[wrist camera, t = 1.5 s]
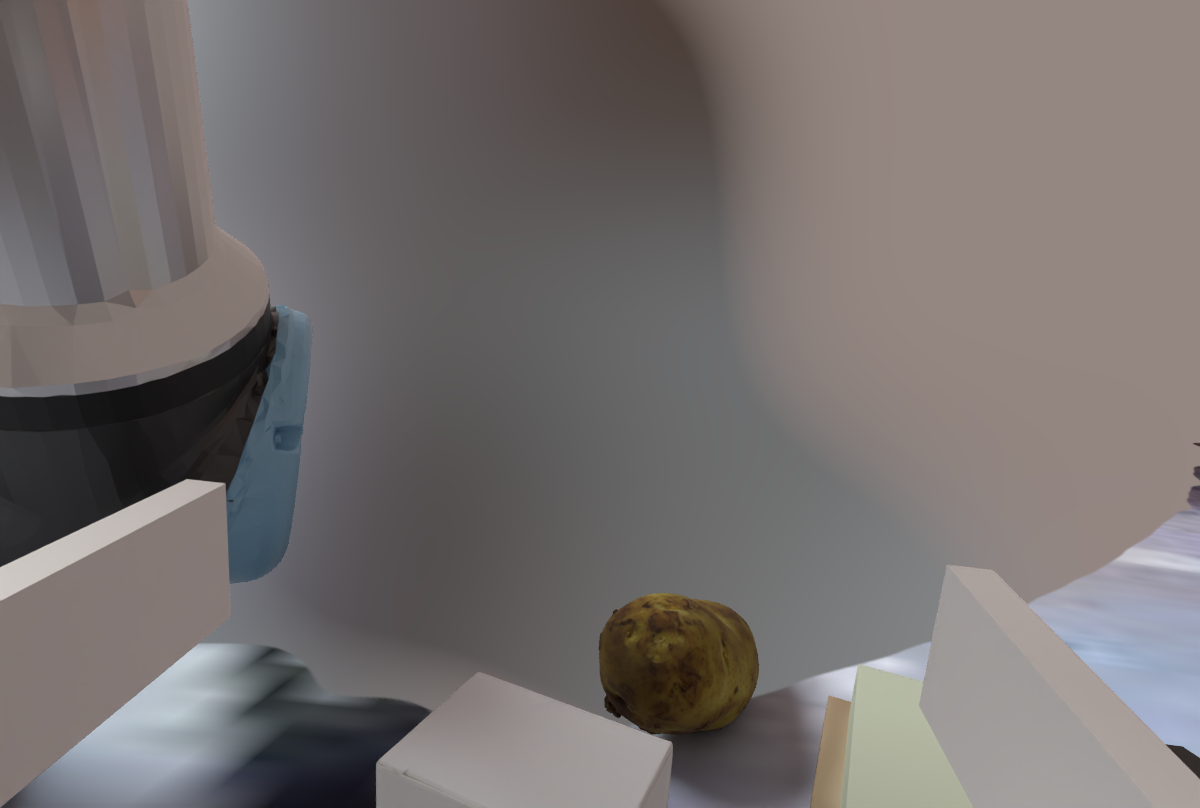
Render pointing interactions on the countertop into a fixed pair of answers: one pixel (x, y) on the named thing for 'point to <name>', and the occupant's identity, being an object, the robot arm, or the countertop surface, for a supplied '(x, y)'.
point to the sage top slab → (894, 749)
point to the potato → (677, 664)
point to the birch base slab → (831, 755)
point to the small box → (521, 756)
